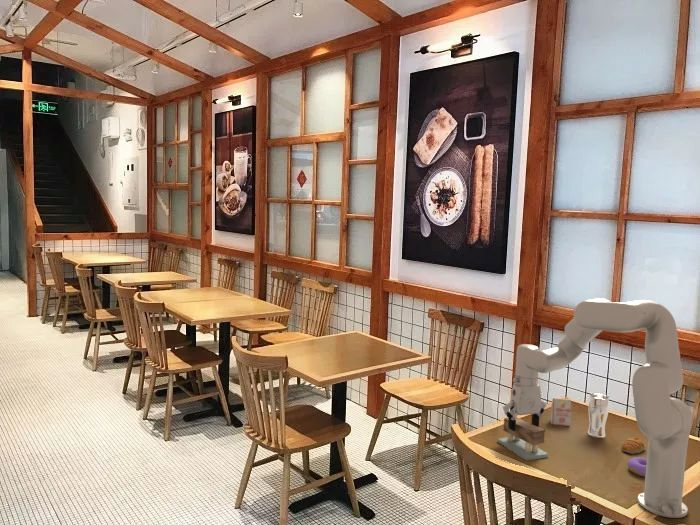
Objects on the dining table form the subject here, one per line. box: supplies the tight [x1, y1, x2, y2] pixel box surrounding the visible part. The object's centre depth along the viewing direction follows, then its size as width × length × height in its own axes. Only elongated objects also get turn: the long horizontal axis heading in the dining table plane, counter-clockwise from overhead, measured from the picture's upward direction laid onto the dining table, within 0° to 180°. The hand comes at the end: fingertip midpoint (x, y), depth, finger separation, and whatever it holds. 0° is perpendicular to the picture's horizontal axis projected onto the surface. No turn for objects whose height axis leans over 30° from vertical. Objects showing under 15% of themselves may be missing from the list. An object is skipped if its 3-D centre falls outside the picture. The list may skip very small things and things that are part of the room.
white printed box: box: [550, 398, 572, 427], centre depth 225 cm, size 4×7×10 cm, turn 80°
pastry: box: [621, 436, 646, 455], centre depth 202 cm, size 9×7×4 cm
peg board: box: [497, 433, 549, 461], centre depth 199 cm, size 16×9×5 cm, turn 20°
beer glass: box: [587, 392, 610, 439], centre depth 214 cm, size 7×7×15 cm
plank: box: [502, 416, 545, 445], centre depth 199 cm, size 14×5×4 cm, turn 29°
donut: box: [627, 456, 647, 478], centre depth 185 cm, size 10×9×5 cm
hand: (523, 428), depth 199 cm, fingers open, 9 cm apart
